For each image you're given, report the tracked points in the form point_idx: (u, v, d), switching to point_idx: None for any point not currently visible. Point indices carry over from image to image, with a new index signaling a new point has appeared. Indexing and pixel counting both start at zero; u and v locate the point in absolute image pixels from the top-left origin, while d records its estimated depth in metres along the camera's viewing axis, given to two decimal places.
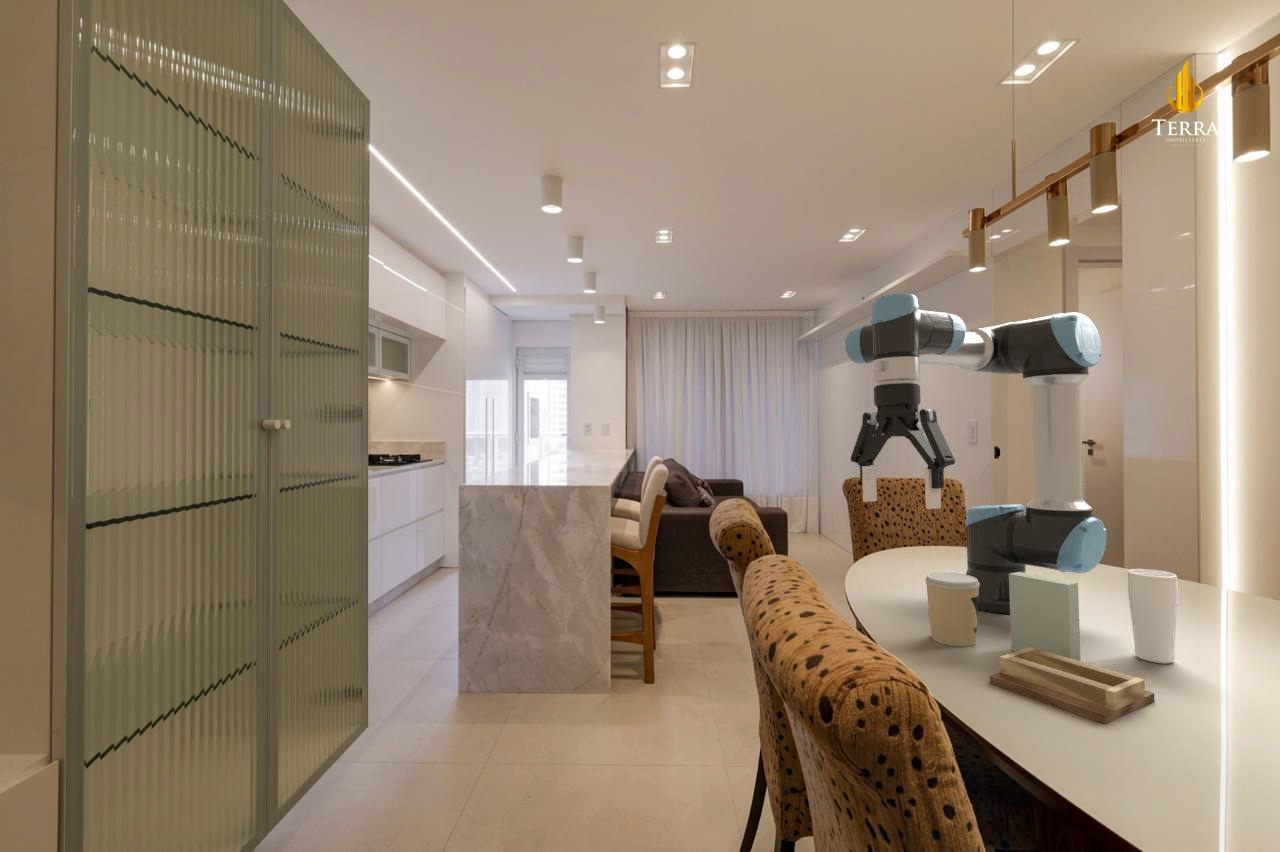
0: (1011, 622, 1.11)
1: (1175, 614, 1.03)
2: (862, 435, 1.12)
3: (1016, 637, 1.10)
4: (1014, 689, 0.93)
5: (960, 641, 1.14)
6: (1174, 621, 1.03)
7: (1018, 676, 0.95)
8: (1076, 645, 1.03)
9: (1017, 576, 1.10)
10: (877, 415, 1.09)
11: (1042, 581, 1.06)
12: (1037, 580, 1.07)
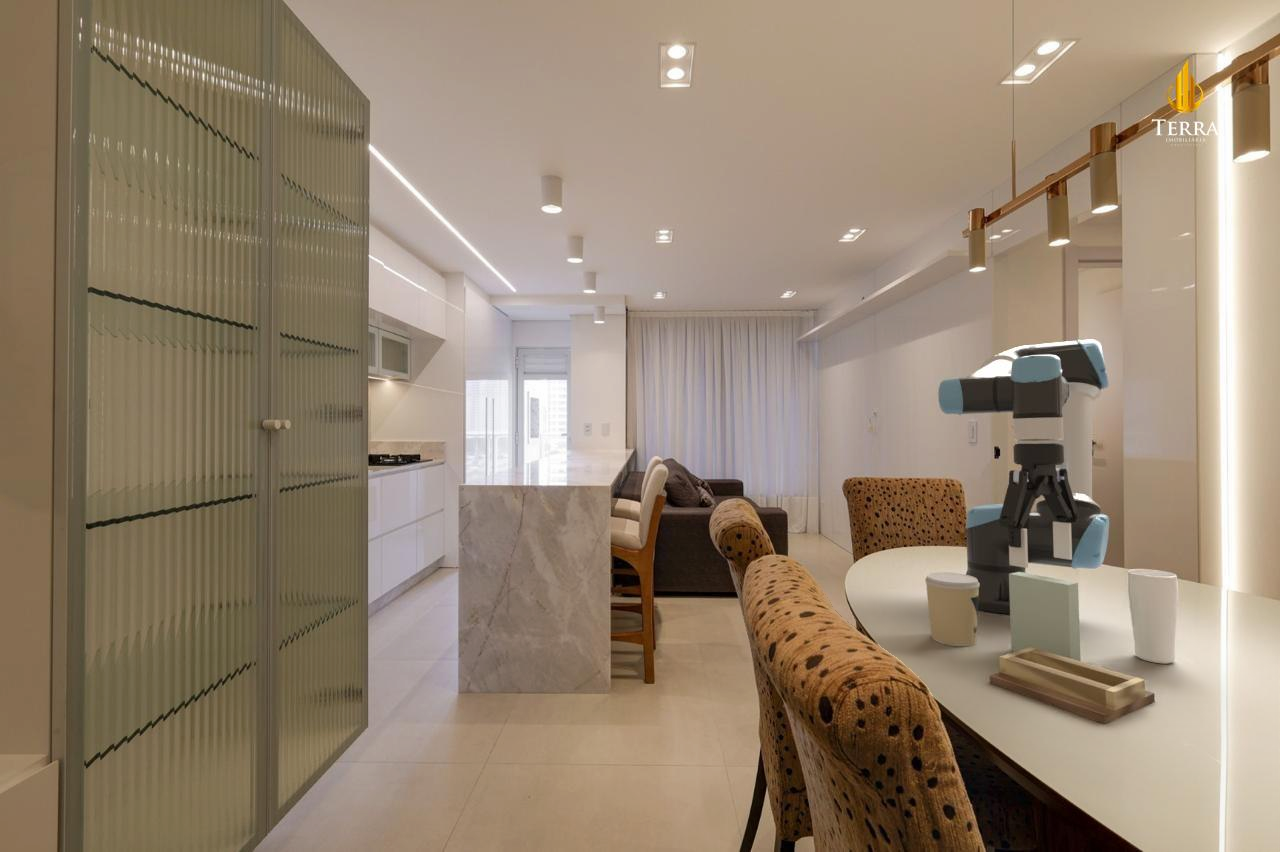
0: (1011, 622, 1.11)
1: (1175, 614, 1.03)
2: None
3: (1016, 637, 1.10)
4: (1014, 689, 0.93)
5: (960, 641, 1.14)
6: (1174, 621, 1.03)
7: (1018, 676, 0.95)
8: (1076, 645, 1.03)
9: (1017, 576, 1.10)
10: None
11: (1042, 581, 1.06)
12: (1037, 580, 1.07)
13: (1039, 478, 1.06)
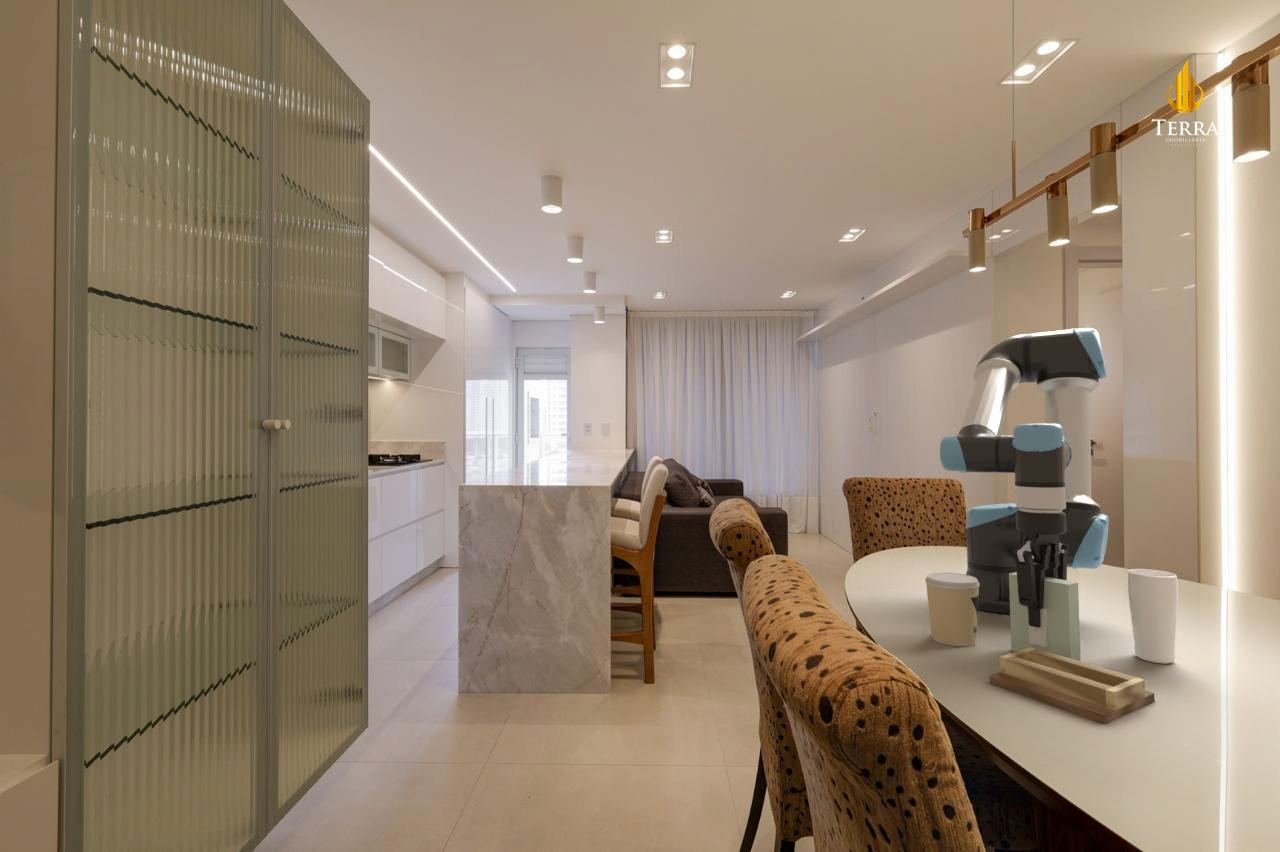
0: (1011, 622, 1.11)
1: (1175, 614, 1.03)
2: None
3: (1016, 637, 1.10)
4: (1014, 689, 0.93)
5: (960, 641, 1.14)
6: (1174, 621, 1.03)
7: (1018, 676, 0.95)
8: (1076, 645, 1.03)
9: None
10: None
11: None
12: None
13: (1042, 549, 1.06)
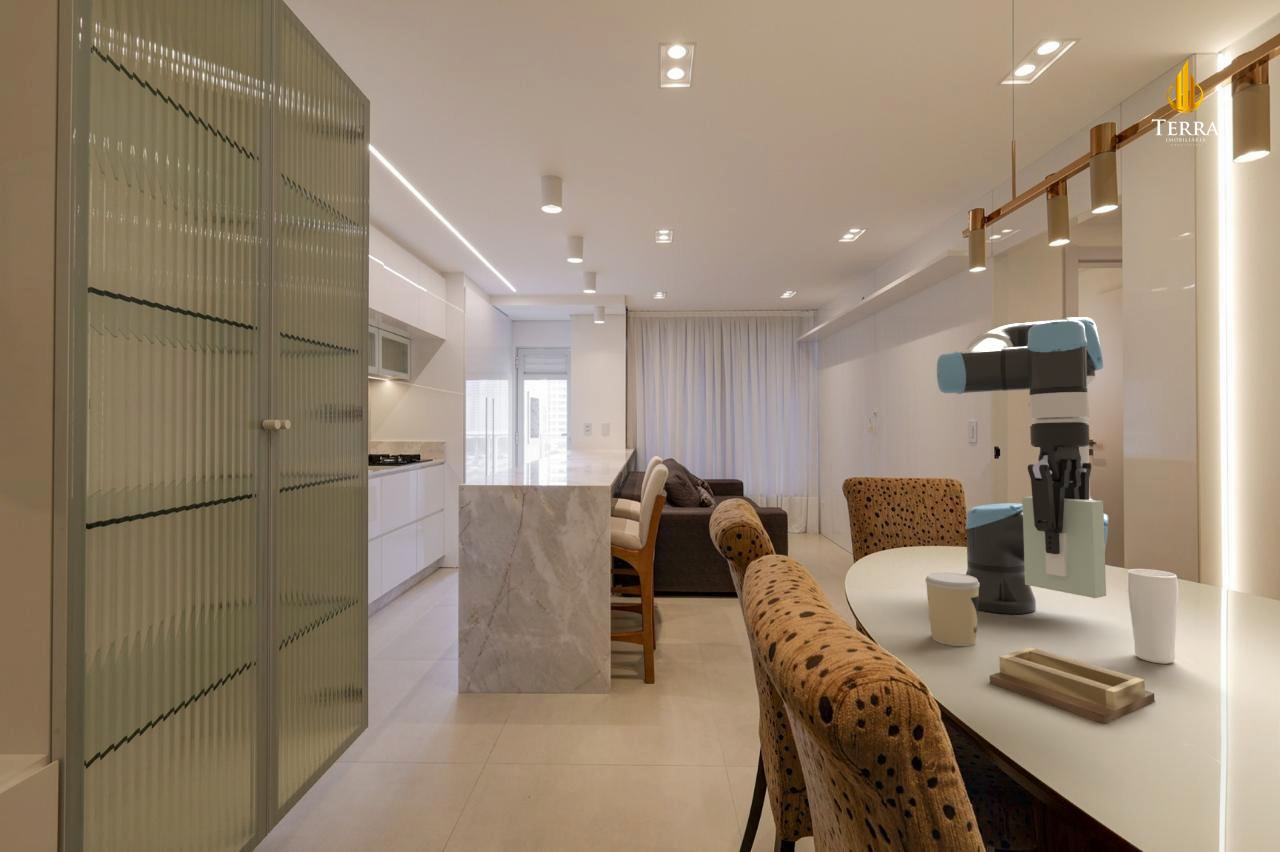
0: (1025, 552, 0.97)
1: (1175, 614, 1.03)
2: None
3: (1031, 569, 0.96)
4: (1014, 689, 0.93)
5: (960, 641, 1.14)
6: (1174, 621, 1.03)
7: (1018, 676, 0.95)
8: (1101, 573, 0.89)
9: None
10: None
11: None
12: None
13: (1061, 465, 0.92)
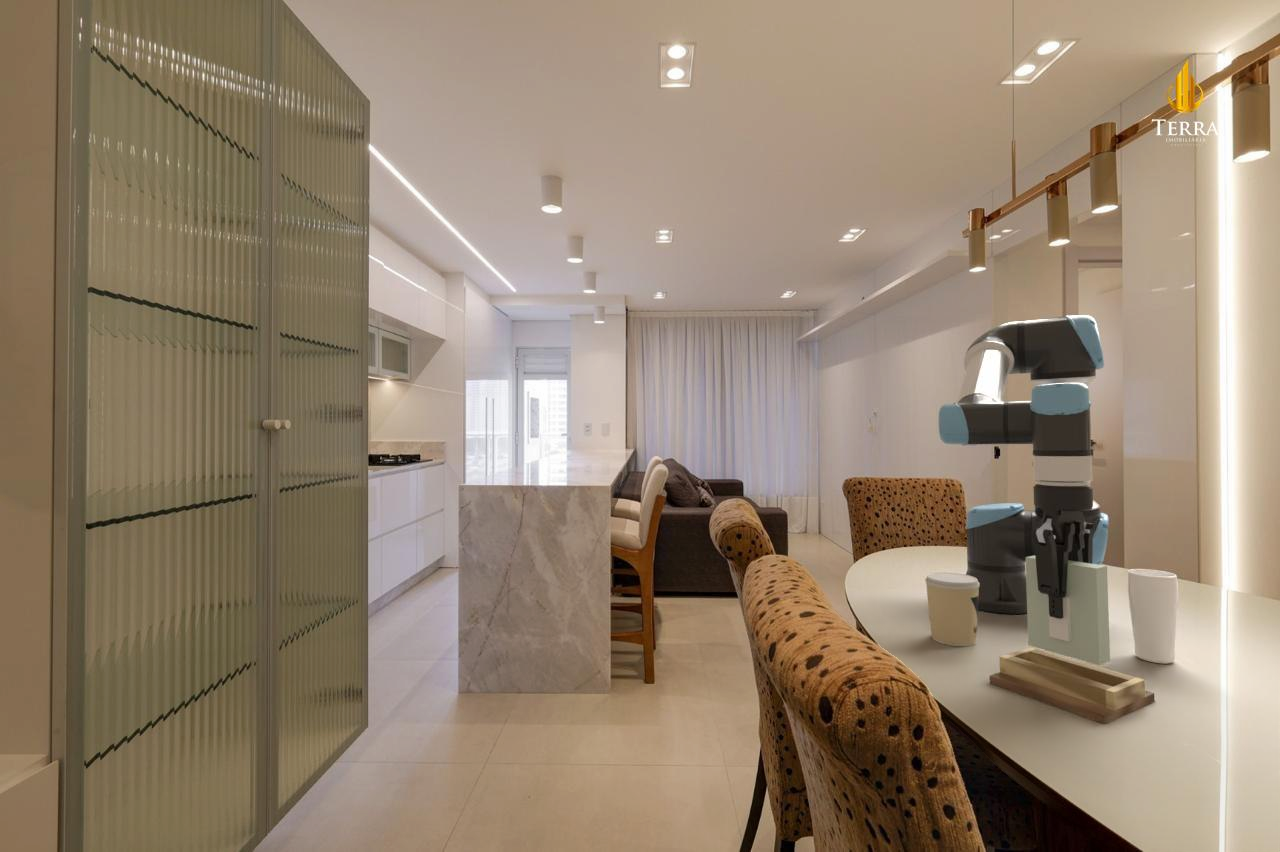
0: (1028, 612, 0.97)
1: (1175, 614, 1.03)
2: None
3: (1034, 630, 0.96)
4: (1014, 689, 0.93)
5: (960, 641, 1.14)
6: (1174, 621, 1.03)
7: (1018, 676, 0.95)
8: (1105, 639, 0.89)
9: (1035, 559, 0.96)
10: None
11: None
12: None
13: (1065, 528, 0.92)
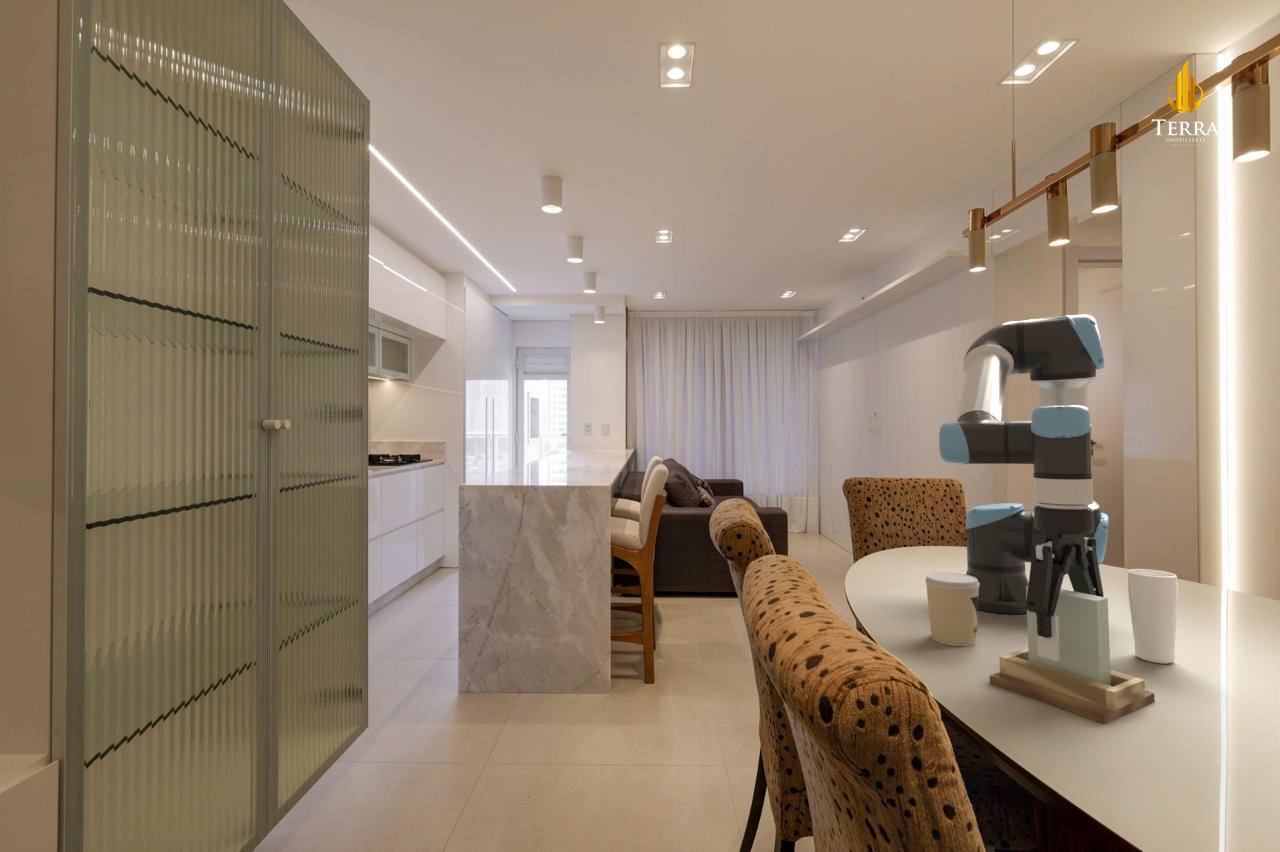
0: (1029, 642, 0.97)
1: (1175, 614, 1.03)
2: None
3: (1035, 660, 0.96)
4: (1014, 689, 0.93)
5: (960, 641, 1.14)
6: (1174, 621, 1.03)
7: (1018, 676, 0.95)
8: (1106, 671, 0.89)
9: None
10: None
11: (1065, 596, 0.92)
12: (1059, 595, 0.93)
13: (1065, 550, 0.91)
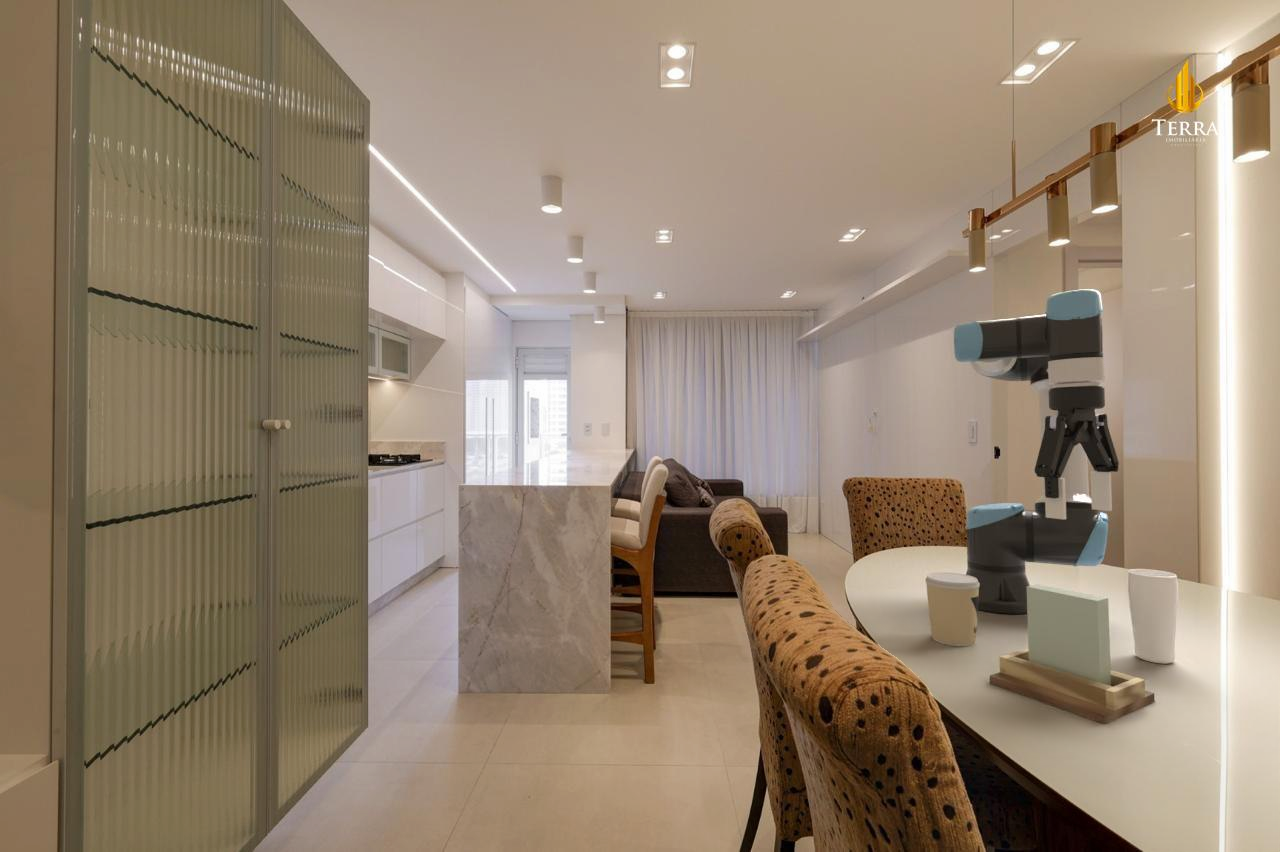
0: (1029, 642, 0.97)
1: (1175, 614, 1.03)
2: None
3: (1035, 660, 0.96)
4: (1014, 689, 0.93)
5: (960, 641, 1.14)
6: (1174, 621, 1.03)
7: (1018, 676, 0.95)
8: (1106, 671, 0.89)
9: (1036, 589, 0.96)
10: None
11: (1066, 596, 0.92)
12: (1060, 594, 0.93)
13: (1078, 424, 0.98)
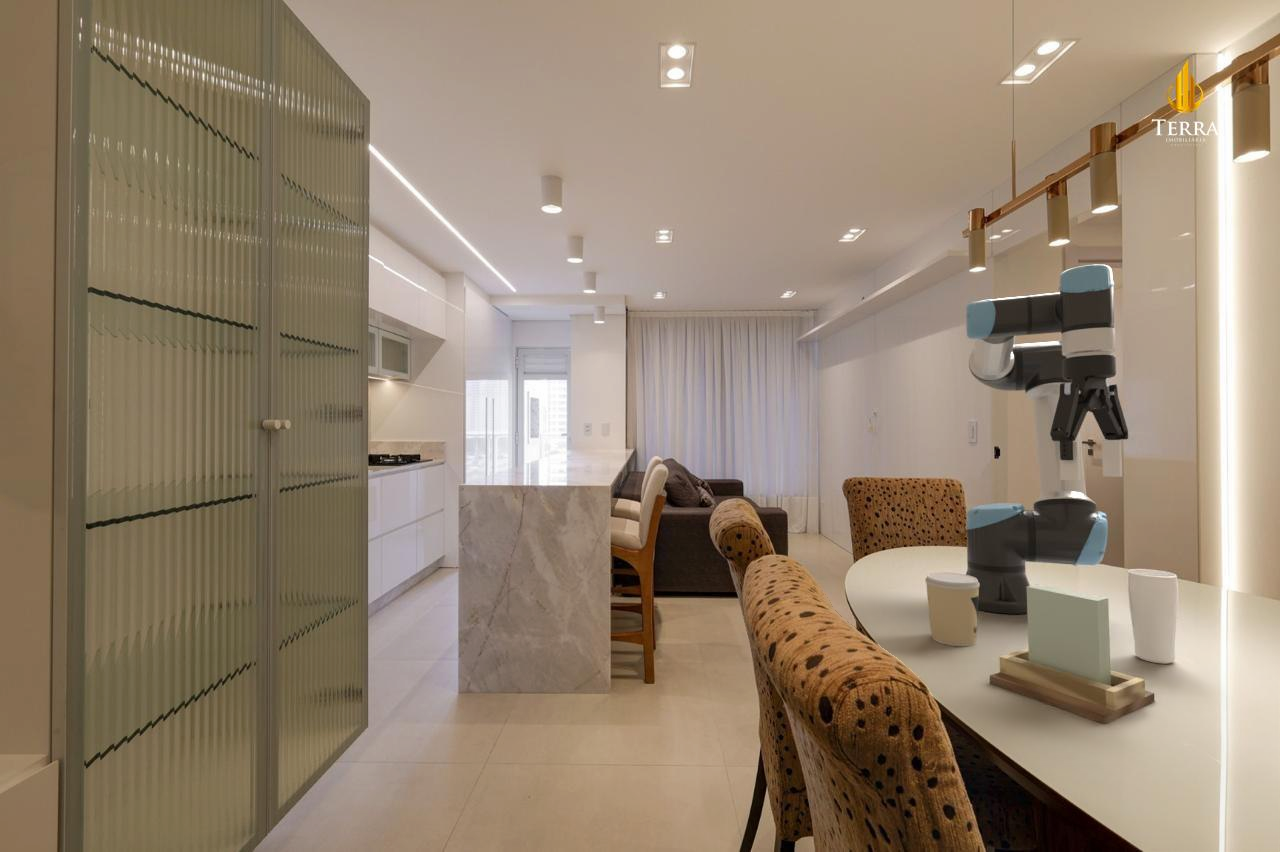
0: (1029, 642, 0.97)
1: (1175, 614, 1.03)
2: None
3: (1035, 660, 0.96)
4: (1014, 689, 0.93)
5: (960, 641, 1.14)
6: (1174, 621, 1.03)
7: (1018, 676, 0.95)
8: (1106, 671, 0.89)
9: (1036, 589, 0.96)
10: None
11: (1066, 596, 0.92)
12: (1060, 594, 0.93)
13: (1091, 391, 1.03)
